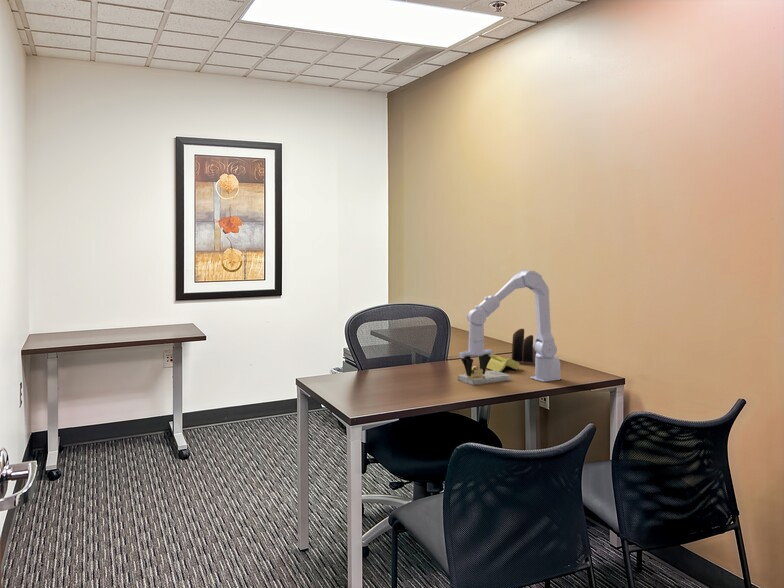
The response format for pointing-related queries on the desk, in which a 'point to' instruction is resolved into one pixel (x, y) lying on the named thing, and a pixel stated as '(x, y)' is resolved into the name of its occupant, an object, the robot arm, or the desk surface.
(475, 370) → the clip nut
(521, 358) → the letter holder
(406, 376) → the desk surface
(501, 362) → the yellow curved piece
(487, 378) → the grey stone slab
